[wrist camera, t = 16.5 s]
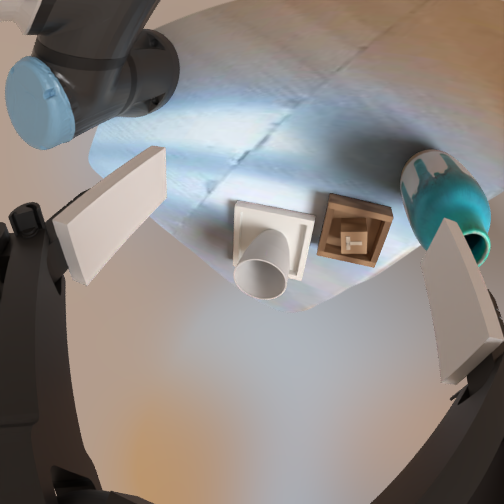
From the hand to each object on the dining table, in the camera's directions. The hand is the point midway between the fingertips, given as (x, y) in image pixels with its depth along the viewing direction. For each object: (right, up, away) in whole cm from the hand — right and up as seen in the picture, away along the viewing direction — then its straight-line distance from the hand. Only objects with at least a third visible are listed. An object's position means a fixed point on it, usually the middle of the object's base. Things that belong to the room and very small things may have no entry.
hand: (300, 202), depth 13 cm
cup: (+2, 0, +39) cm, 39 cm away
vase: (+24, +10, +25) cm, 36 cm away
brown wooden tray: (+14, +2, +34) cm, 37 cm away
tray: (+1, 0, +40) cm, 40 cm away
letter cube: (+14, +2, +33) cm, 36 cm away
